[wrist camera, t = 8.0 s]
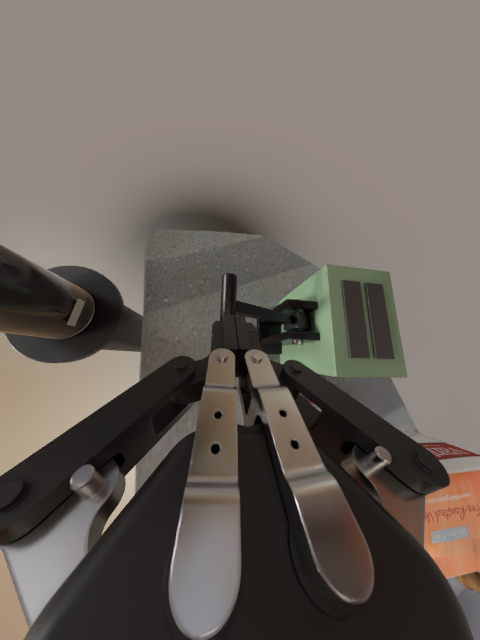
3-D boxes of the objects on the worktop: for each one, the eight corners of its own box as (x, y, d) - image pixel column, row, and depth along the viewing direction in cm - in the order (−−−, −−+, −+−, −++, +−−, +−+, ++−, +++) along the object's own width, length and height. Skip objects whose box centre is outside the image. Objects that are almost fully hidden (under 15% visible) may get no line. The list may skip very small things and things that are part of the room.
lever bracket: (256, 353, 32) (286, 351, 20) (257, 312, 34) (284, 287, 22) (282, 354, 33) (325, 353, 21) (281, 313, 35) (320, 290, 22)
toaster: (279, 367, 32) (338, 377, 18) (278, 301, 35) (328, 262, 20) (323, 368, 34) (410, 377, 19) (318, 305, 37) (391, 270, 22)
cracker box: (327, 398, 33) (515, 464, 13) (330, 433, 32) (544, 569, 11) (256, 399, 31) (347, 483, 10) (256, 437, 29) (360, 617, 9)
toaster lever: (213, 337, 16) (227, 335, 14) (217, 278, 17) (230, 269, 16) (296, 345, 24) (312, 345, 22) (294, 304, 25) (309, 300, 23)
